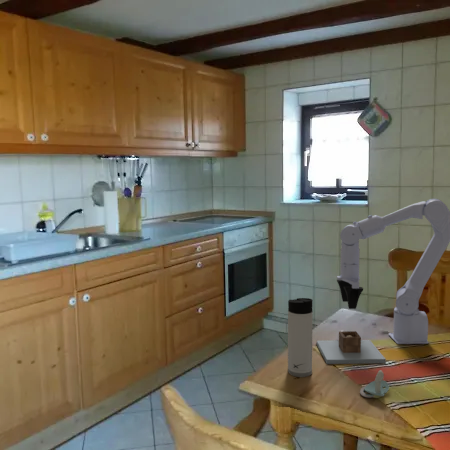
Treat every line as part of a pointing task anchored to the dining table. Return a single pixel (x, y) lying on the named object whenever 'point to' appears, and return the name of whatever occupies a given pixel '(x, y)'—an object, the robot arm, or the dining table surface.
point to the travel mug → (300, 337)
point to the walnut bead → (349, 342)
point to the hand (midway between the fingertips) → (349, 304)
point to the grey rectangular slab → (336, 356)
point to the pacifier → (375, 387)
